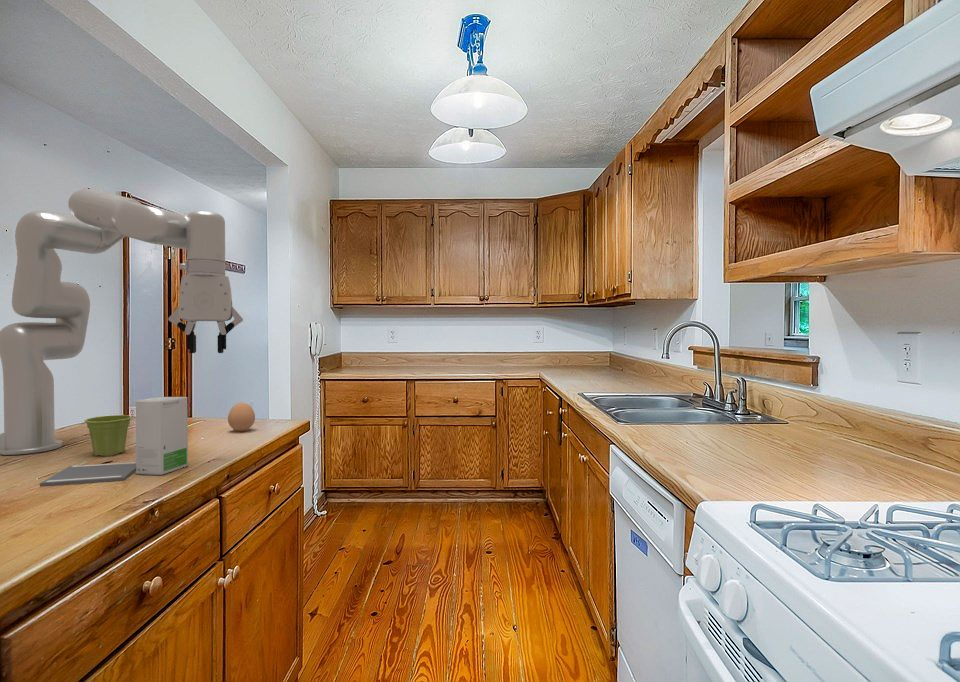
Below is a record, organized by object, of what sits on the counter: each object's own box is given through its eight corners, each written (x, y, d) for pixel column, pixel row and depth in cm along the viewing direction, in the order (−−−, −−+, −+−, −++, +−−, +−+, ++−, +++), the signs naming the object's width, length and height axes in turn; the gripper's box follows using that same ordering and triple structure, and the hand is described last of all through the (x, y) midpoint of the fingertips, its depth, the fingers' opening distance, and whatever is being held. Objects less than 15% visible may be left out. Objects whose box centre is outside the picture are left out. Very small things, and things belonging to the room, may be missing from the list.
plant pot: (86, 460, 120) (86, 423, 120) (83, 453, 127) (82, 417, 127) (135, 454, 127) (134, 418, 126) (129, 447, 134) (128, 413, 133)
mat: (39, 486, 101) (39, 482, 101) (69, 468, 113) (69, 465, 113) (123, 480, 105) (123, 477, 105) (143, 464, 117) (143, 461, 117)
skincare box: (161, 476, 108) (160, 401, 108) (133, 474, 109) (132, 400, 109) (189, 465, 117) (189, 396, 116) (163, 464, 118) (162, 395, 117)
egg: (237, 434, 150) (237, 405, 150) (222, 431, 154) (222, 402, 154) (260, 430, 156) (260, 402, 156) (245, 427, 160) (245, 400, 160)
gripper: (157, 266, 108) (157, 354, 109) (246, 269, 113) (246, 353, 114) (166, 270, 115) (167, 352, 116) (250, 273, 121) (250, 351, 121)
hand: (206, 352), depth 115 cm, fingers open, 4 cm apart
